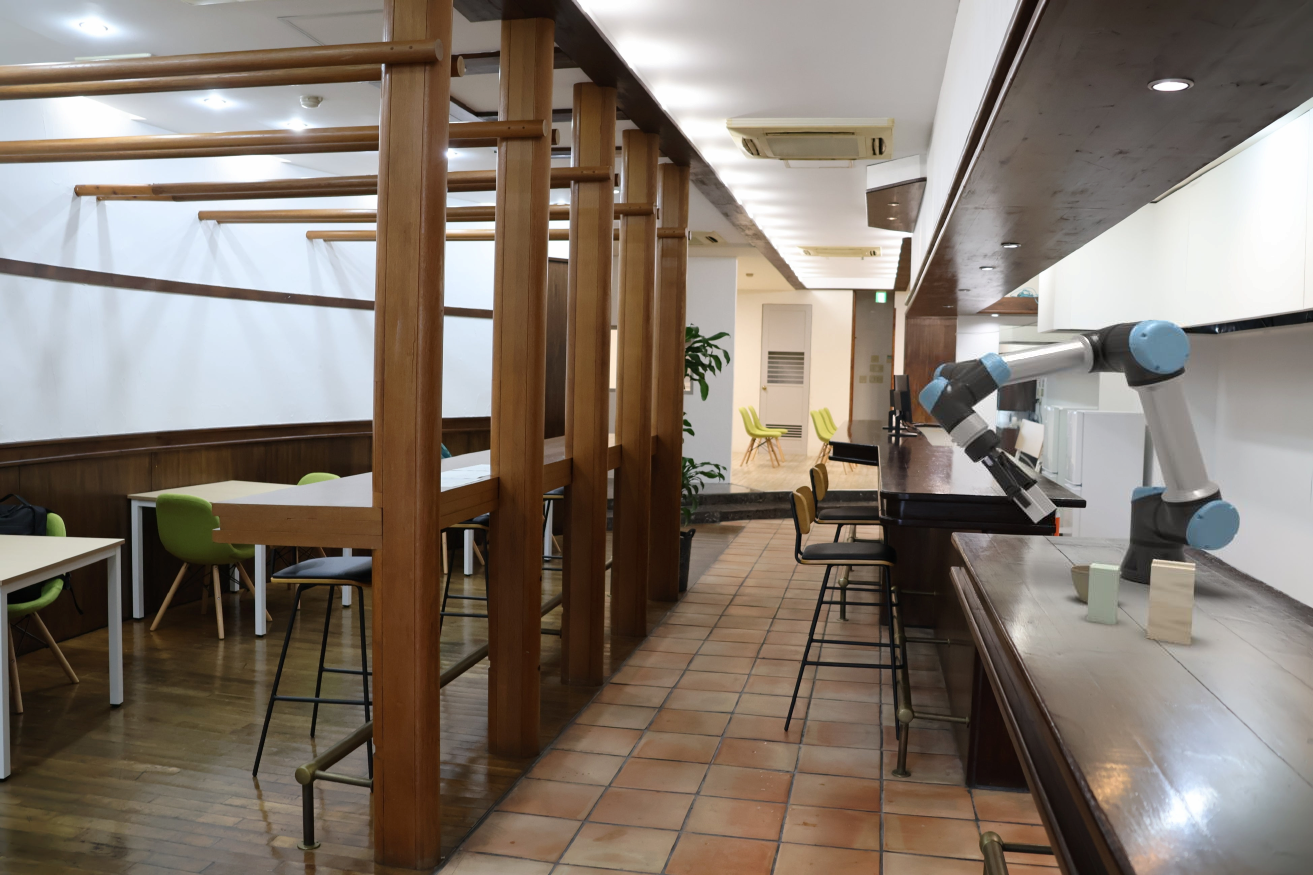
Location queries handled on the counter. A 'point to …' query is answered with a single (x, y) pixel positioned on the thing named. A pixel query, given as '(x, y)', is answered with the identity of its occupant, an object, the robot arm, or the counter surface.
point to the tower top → (1172, 583)
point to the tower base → (1170, 623)
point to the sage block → (1103, 593)
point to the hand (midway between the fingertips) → (1046, 515)
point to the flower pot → (1082, 580)
